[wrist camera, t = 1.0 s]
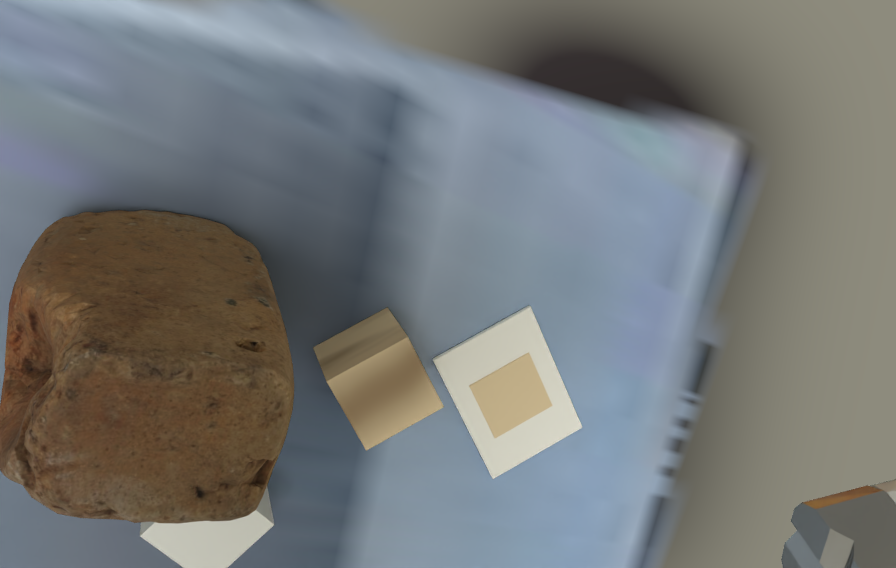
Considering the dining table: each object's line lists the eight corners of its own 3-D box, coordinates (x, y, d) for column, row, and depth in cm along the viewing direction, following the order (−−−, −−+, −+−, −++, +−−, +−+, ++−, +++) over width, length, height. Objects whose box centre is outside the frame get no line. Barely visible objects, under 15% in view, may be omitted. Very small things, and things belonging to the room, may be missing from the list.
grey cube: (265, 478, 51) (274, 524, 47) (204, 533, 51) (207, 585, 47) (206, 429, 49) (209, 472, 45) (143, 486, 49) (140, 535, 45)
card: (580, 425, 57) (583, 427, 57) (491, 476, 56) (493, 479, 56) (528, 305, 53) (531, 307, 53) (432, 358, 52) (433, 361, 52)
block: (266, 226, 47) (322, 369, 28) (237, 350, 48) (273, 558, 30) (54, 182, 43) (-36, 316, 25) (31, 319, 44) (-70, 537, 26)
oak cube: (420, 372, 52) (443, 407, 48) (349, 411, 52) (366, 450, 47) (387, 306, 50) (408, 336, 46) (312, 347, 50) (326, 381, 45)
